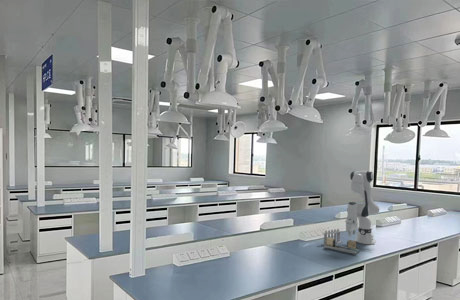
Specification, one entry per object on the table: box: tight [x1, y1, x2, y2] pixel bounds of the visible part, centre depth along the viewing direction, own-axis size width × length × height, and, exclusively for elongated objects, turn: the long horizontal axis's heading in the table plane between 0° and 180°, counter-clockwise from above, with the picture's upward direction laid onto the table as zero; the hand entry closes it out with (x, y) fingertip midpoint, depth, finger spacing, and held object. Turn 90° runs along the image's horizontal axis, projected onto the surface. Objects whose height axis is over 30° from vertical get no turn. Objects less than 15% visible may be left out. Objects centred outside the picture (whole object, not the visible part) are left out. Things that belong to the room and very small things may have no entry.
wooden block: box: [346, 239, 357, 249], centre depth 288 cm, size 4×7×8 cm, turn 49°
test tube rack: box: [321, 228, 343, 246], centre depth 307 cm, size 25×4×13 cm, turn 123°
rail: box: [323, 236, 360, 256], centre depth 284 cm, size 10×28×9 cm, turn 49°
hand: (351, 235), depth 287 cm, fingers open, 8 cm apart
